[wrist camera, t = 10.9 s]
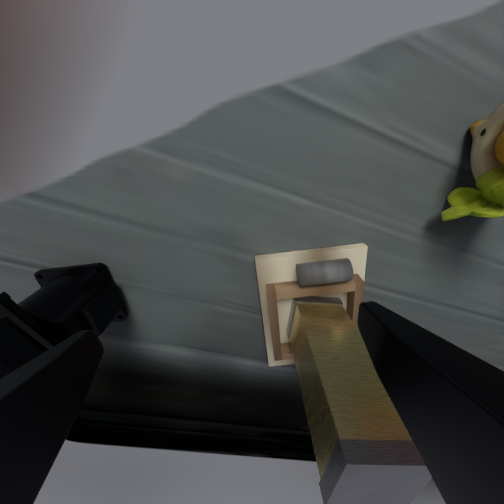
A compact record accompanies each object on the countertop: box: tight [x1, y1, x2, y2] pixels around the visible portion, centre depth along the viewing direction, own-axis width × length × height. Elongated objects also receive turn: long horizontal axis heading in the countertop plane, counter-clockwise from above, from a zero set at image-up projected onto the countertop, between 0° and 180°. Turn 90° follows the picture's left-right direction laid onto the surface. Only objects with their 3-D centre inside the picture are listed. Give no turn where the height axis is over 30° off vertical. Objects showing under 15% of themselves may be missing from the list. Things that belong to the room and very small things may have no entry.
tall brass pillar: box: [286, 296, 432, 504], centre depth 17 cm, size 5×5×13 cm
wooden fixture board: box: [255, 243, 368, 367], centre depth 23 cm, size 10×14×3 cm
